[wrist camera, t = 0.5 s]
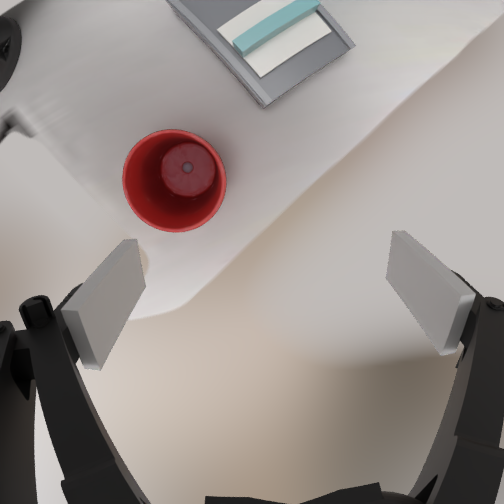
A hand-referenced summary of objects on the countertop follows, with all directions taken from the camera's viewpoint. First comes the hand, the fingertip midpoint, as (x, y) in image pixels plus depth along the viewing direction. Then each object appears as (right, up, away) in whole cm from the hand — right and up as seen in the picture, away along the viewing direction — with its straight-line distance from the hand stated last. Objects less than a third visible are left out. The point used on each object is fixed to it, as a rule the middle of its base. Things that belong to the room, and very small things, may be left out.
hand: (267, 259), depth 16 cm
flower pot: (-9, +11, +24) cm, 28 cm away
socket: (0, +28, +16) cm, 32 cm away
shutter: (+2, +24, +12) cm, 27 cm away
